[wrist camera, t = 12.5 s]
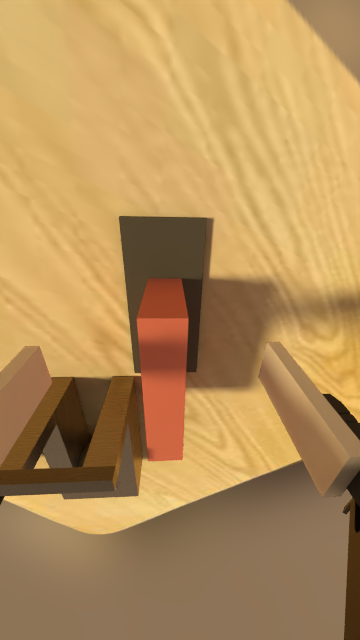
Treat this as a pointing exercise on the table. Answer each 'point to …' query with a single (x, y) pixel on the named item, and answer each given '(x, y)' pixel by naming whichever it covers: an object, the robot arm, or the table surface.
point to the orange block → (163, 366)
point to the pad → (164, 268)
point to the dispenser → (77, 446)
